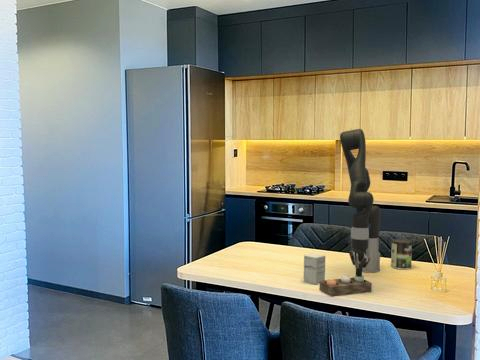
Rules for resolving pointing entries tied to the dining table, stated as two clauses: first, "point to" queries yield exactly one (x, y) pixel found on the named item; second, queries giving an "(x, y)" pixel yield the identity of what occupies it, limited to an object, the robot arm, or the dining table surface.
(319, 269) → the supplement box
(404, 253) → the coffee can
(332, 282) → the terracotta button
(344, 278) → the cream pill shape
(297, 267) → the dining table surface
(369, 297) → the dining table surface
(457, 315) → the dining table surface
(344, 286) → the frame
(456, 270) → the dining table surface
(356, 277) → the sage button
